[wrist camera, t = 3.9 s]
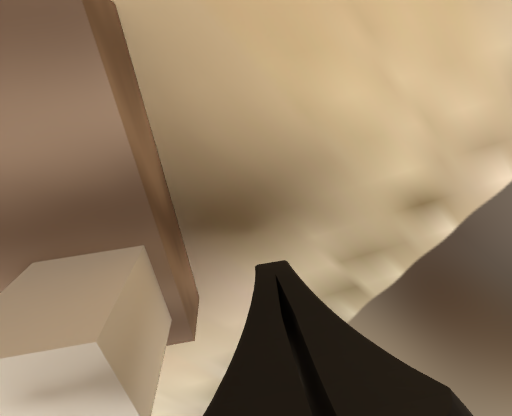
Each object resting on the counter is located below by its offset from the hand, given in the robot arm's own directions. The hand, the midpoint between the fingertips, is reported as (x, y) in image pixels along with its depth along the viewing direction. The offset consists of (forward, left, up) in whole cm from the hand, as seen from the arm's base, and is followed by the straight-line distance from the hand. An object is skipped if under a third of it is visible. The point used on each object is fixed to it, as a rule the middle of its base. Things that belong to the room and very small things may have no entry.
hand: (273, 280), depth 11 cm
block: (0, +7, -1) cm, 7 cm away
